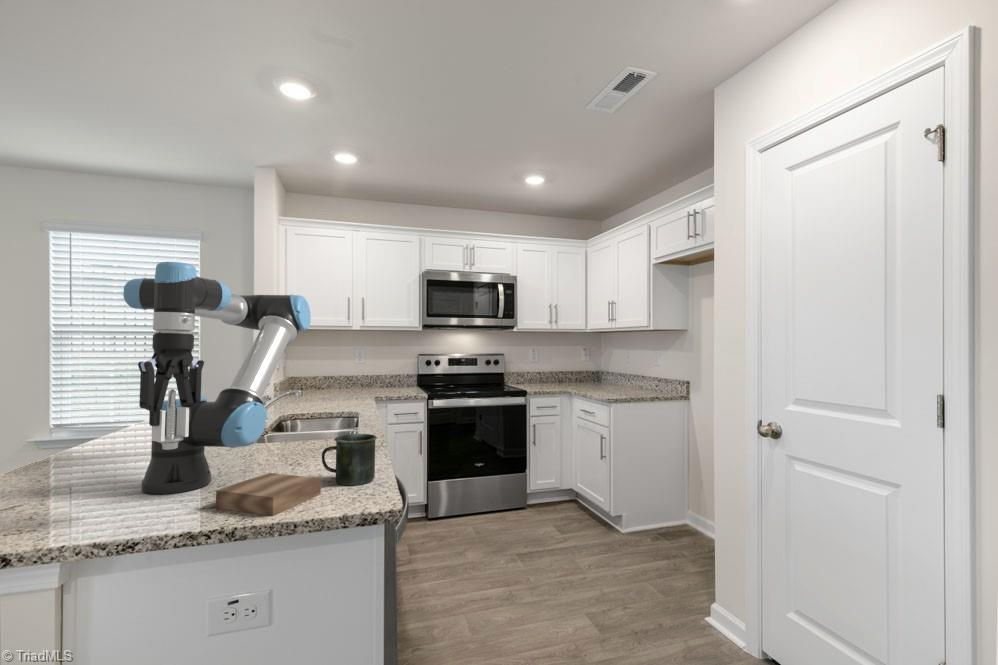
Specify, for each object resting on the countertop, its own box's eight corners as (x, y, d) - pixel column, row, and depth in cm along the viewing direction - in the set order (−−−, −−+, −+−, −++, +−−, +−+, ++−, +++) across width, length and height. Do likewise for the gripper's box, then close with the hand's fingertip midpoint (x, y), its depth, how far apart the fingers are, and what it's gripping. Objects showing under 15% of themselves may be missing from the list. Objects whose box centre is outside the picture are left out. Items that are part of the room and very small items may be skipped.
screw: (157, 447, 103) (183, 445, 106) (155, 451, 99) (183, 449, 102) (159, 388, 103) (185, 387, 106) (157, 390, 99) (185, 389, 102)
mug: (379, 483, 127) (380, 439, 127) (322, 490, 121) (323, 443, 121) (372, 473, 137) (373, 432, 137) (319, 479, 130) (320, 436, 131)
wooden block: (215, 508, 107) (216, 490, 107) (268, 488, 122) (269, 472, 122) (272, 515, 102) (273, 497, 102) (320, 494, 117) (320, 478, 117)
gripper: (145, 331, 93) (141, 448, 93) (221, 333, 110) (219, 432, 110) (118, 331, 96) (114, 445, 95) (197, 333, 113) (194, 430, 112)
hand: (170, 438), depth 102 cm, fingers closed on screw, 5 cm apart
